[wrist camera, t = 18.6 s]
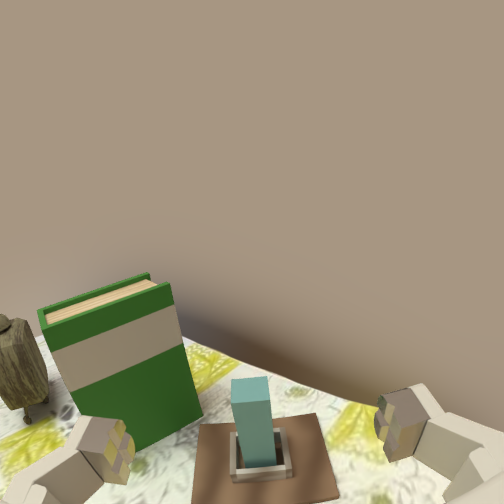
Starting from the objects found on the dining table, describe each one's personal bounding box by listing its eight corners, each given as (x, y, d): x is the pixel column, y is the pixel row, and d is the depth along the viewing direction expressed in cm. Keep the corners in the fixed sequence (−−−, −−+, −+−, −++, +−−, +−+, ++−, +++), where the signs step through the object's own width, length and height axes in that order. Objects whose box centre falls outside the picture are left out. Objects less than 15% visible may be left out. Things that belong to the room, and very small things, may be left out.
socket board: (192, 511, 27) (185, 500, 26) (201, 428, 43) (196, 413, 42) (338, 498, 27) (341, 486, 26) (315, 416, 43) (315, 401, 42)
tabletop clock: (22, 390, 48) (-22, 286, 41) (54, 380, 53) (13, 275, 46) (22, 431, 37) (-40, 311, 30) (60, 420, 42) (3, 298, 35)
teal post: (246, 472, 33) (230, 403, 29) (245, 450, 37) (231, 379, 33) (277, 469, 33) (270, 399, 29) (274, 448, 37) (267, 376, 33)
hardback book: (179, 395, 51) (146, 272, 44) (203, 415, 45) (169, 283, 39) (96, 436, 40) (36, 310, 33) (112, 463, 34) (41, 330, 28)
